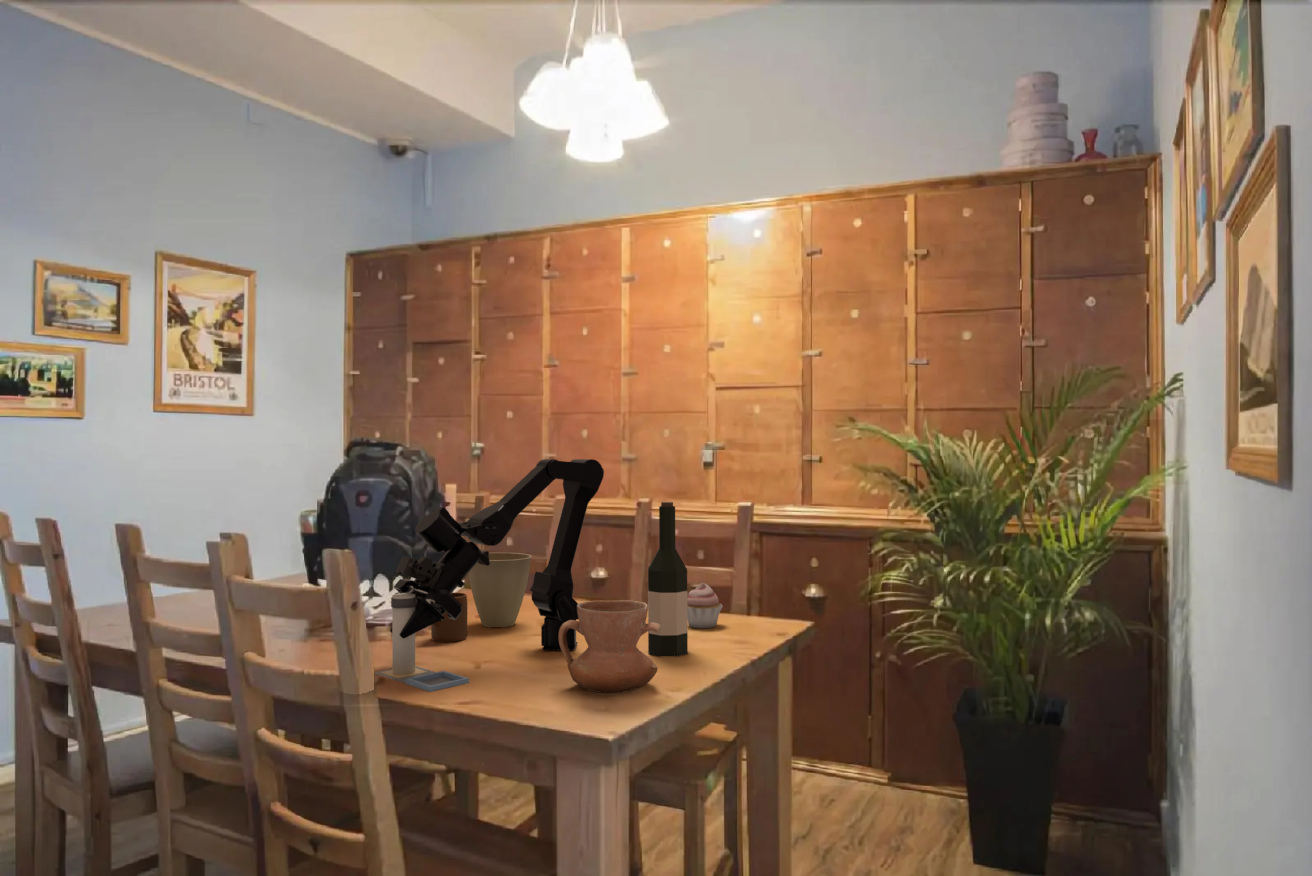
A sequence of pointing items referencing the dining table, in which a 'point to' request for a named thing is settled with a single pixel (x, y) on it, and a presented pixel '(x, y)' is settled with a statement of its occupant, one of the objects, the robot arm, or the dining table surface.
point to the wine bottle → (667, 591)
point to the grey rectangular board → (427, 679)
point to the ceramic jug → (610, 646)
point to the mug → (452, 624)
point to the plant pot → (500, 588)
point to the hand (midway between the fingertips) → (396, 634)
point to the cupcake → (703, 607)
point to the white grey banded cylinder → (401, 646)
